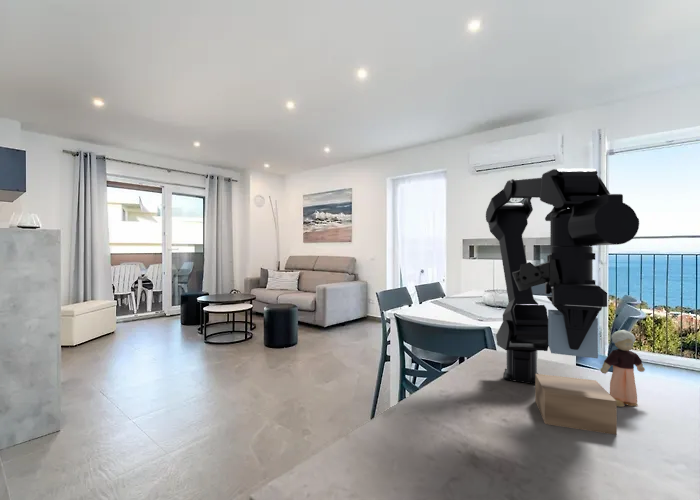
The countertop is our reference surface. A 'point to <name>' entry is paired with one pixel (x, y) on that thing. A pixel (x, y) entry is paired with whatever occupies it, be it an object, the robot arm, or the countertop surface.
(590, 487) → the countertop surface
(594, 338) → the slate-blue cube
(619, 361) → the grandmother figurine
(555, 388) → the tan flat block
